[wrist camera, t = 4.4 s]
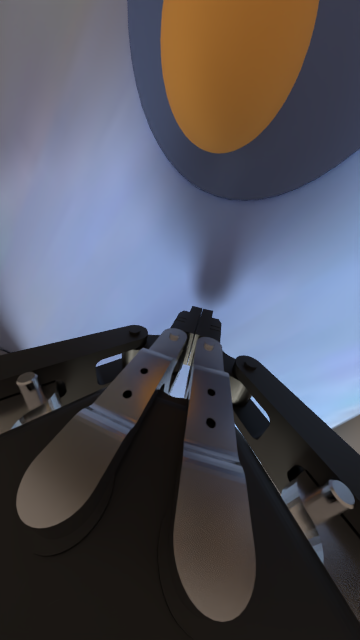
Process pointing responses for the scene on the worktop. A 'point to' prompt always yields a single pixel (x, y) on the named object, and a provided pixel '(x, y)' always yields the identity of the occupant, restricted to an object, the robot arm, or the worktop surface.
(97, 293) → the worktop surface
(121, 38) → the worktop surface
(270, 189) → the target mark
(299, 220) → the worktop surface
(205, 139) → the ball
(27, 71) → the worktop surface
